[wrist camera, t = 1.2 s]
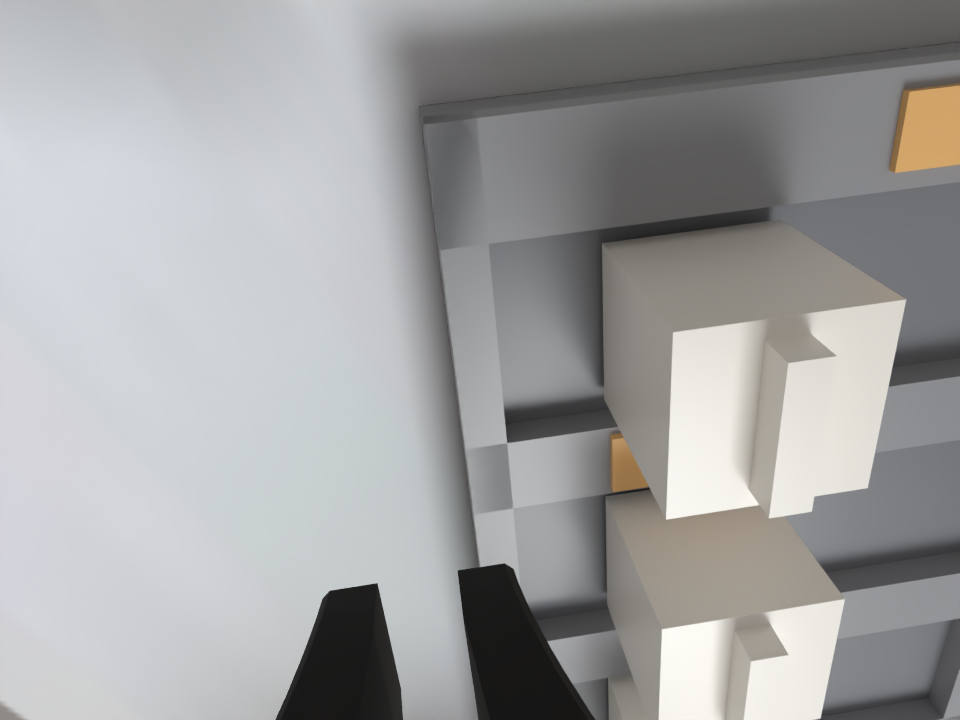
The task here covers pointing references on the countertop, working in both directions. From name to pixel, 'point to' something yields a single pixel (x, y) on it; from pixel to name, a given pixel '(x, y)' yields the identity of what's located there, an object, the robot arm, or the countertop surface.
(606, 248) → the tab
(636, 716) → the tab
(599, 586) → the switch board
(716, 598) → the beige block
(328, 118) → the countertop surface
